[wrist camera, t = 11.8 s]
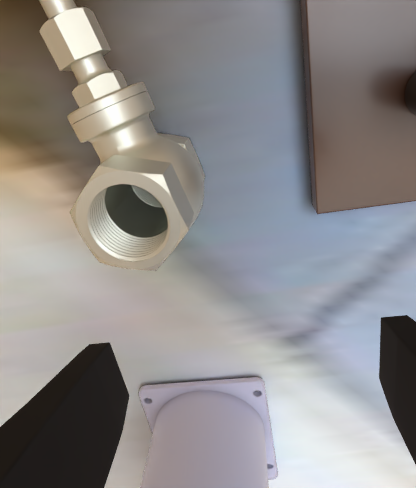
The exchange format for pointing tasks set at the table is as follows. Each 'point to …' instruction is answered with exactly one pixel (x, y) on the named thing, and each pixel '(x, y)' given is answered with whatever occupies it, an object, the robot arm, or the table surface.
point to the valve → (122, 152)
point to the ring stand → (360, 101)
